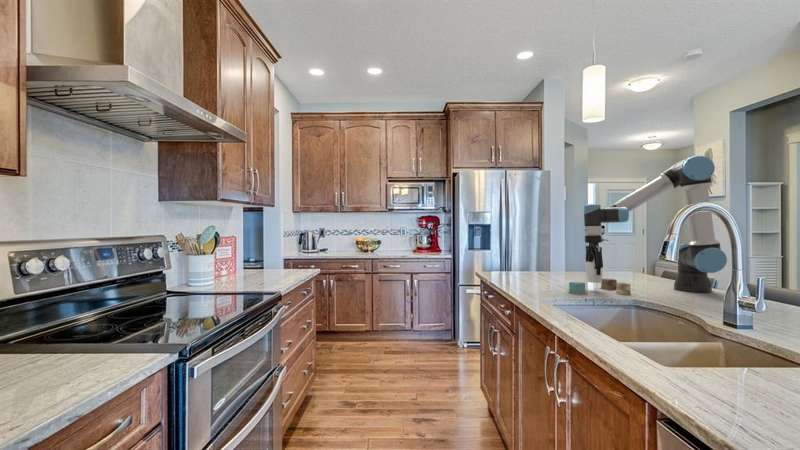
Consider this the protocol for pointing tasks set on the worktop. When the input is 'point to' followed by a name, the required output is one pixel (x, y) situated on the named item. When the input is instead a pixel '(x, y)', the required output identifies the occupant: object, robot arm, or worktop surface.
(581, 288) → the teal painted block
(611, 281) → the walnut block
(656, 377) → the worktop surface
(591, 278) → the white cup
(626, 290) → the maple block
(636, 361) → the worktop surface
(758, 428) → the worktop surface
